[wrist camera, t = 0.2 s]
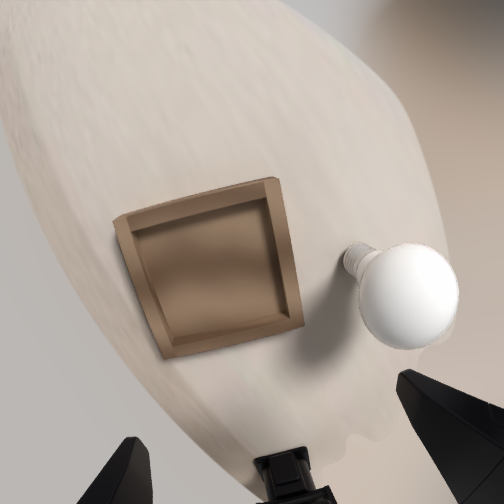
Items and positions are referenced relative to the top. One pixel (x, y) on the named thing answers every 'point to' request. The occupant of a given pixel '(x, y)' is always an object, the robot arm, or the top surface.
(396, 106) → the top surface
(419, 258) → the lightbulb
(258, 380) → the top surface
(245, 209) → the walnut tray
